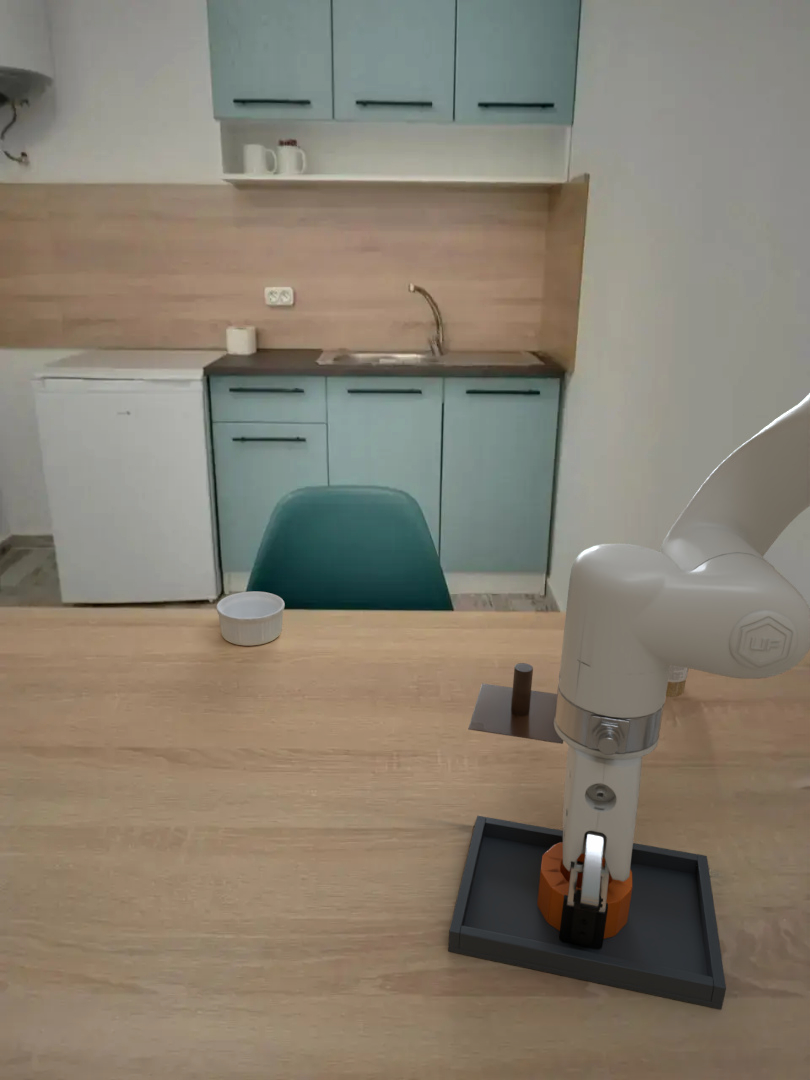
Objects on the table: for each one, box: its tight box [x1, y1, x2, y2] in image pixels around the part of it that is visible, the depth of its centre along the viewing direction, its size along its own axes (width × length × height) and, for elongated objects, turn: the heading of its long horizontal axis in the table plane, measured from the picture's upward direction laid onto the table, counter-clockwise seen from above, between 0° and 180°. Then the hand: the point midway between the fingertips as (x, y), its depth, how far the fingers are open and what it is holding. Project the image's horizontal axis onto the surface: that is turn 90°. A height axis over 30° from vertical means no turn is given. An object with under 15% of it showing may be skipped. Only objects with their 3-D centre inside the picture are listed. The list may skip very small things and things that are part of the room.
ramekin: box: [216, 590, 286, 647], centre depth 110 cm, size 9×9×4 cm
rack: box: [468, 662, 564, 745], centre depth 91 cm, size 10×10×7 cm
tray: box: [447, 815, 727, 1010], centre depth 66 cm, size 20×14×2 cm
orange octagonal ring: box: [537, 842, 632, 939], centre depth 66 cm, size 7×7×4 cm
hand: (582, 903), depth 66 cm, fingers open, 7 cm apart
